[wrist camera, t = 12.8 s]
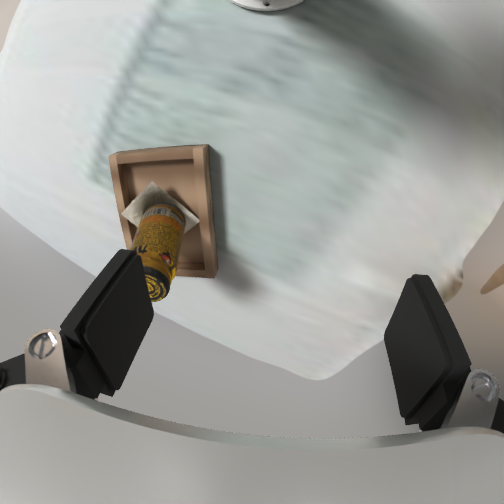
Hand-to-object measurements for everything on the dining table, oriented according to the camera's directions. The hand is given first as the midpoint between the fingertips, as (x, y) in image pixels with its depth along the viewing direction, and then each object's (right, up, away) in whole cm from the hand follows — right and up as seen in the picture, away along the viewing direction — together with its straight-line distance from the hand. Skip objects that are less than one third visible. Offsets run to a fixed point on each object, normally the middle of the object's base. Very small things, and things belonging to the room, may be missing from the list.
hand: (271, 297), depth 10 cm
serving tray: (-12, +7, +29) cm, 33 cm away
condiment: (-13, +6, +28) cm, 32 cm away
